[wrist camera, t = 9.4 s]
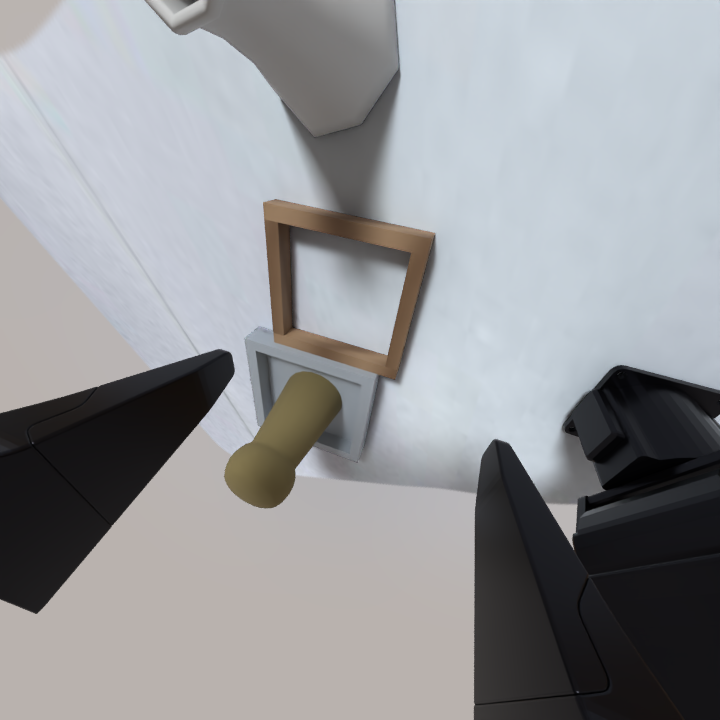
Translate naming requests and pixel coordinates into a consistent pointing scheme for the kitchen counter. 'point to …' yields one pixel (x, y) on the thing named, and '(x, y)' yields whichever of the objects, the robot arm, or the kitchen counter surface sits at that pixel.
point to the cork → (283, 440)
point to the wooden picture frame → (350, 227)
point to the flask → (305, 50)
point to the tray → (354, 384)
